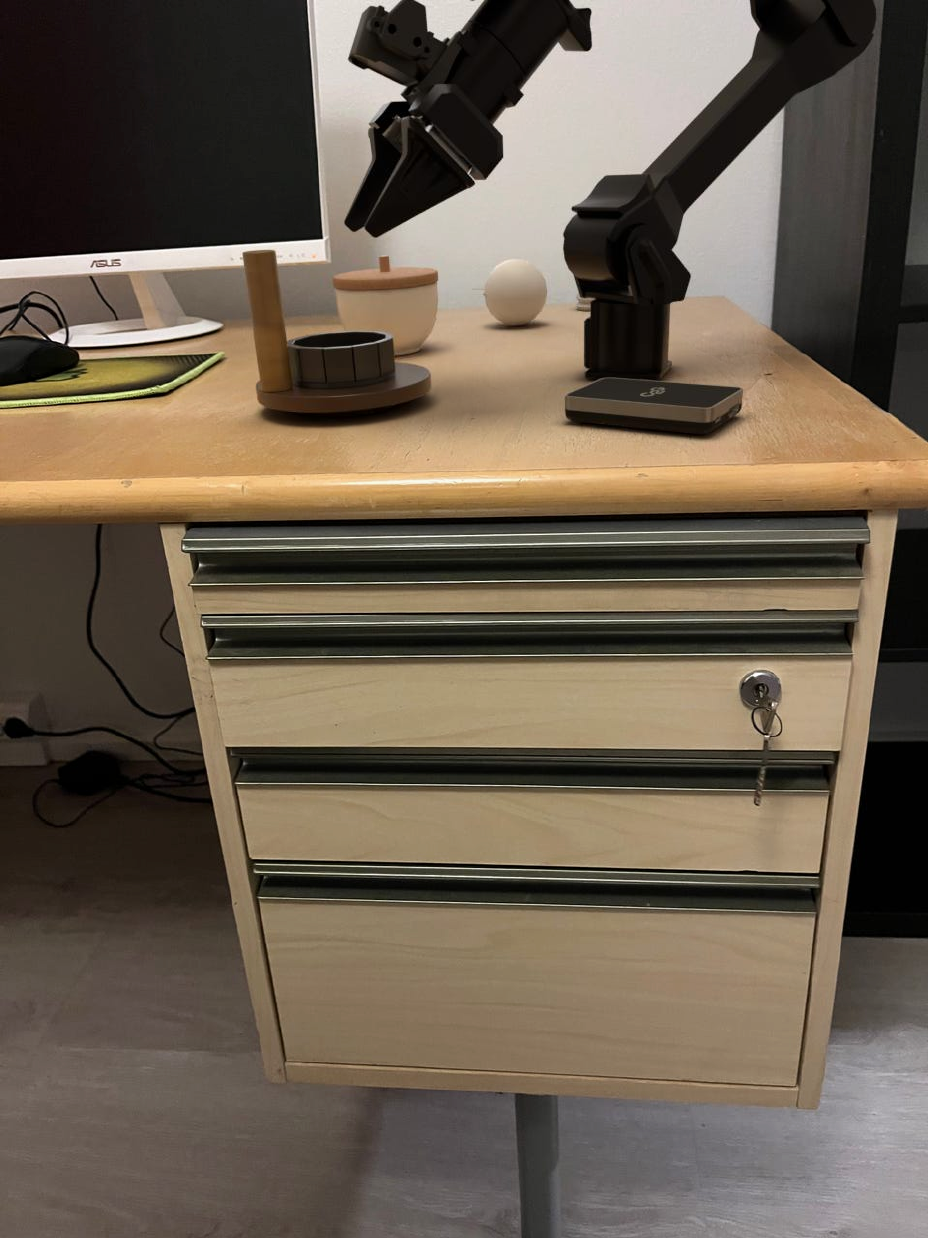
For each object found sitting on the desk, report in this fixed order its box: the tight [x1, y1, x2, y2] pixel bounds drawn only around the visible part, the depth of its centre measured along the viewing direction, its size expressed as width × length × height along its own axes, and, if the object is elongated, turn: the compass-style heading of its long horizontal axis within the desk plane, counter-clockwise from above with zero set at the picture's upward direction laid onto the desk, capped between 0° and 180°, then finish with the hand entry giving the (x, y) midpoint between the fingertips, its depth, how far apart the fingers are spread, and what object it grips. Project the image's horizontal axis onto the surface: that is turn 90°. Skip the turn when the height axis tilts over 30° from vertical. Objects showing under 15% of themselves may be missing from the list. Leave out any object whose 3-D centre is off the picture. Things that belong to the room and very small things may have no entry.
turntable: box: [241, 249, 432, 413], centre depth 75 cm, size 14×14×11 cm
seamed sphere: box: [471, 258, 548, 326], centre depth 111 cm, size 10×7×7 cm
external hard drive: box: [564, 378, 744, 435], centre depth 68 cm, size 7×11×2 cm, turn 56°
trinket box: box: [332, 255, 439, 357], centre depth 98 cm, size 11×11×9 cm
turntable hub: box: [299, 405, 394, 418], centre depth 77 cm, size 8×8×1 cm
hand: (358, 230), depth 71 cm, fingers open, 9 cm apart
